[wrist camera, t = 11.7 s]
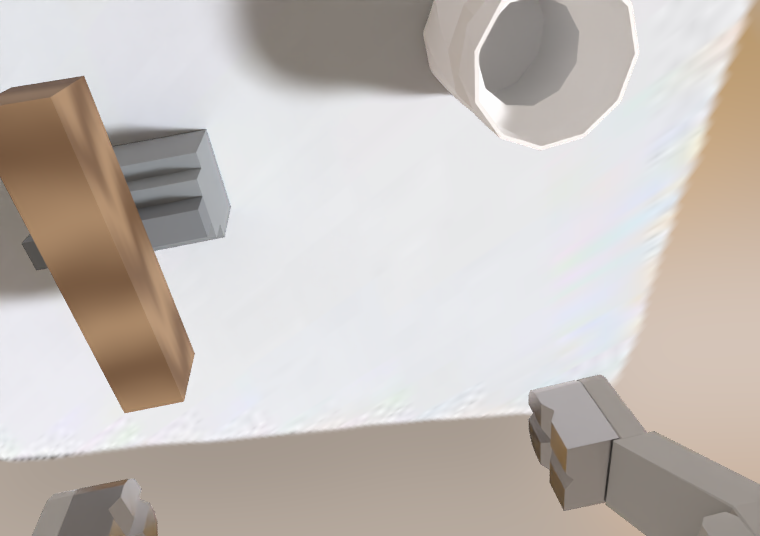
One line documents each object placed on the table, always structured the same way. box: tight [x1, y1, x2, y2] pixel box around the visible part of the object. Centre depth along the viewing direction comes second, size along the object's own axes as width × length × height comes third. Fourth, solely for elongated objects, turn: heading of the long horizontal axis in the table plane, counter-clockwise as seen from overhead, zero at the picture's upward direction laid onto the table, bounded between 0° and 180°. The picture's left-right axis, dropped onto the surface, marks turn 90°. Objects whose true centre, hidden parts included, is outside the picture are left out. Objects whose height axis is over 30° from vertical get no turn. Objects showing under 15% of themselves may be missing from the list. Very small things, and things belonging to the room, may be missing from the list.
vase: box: [423, 0, 639, 151], centre depth 32 cm, size 9×9×12 cm
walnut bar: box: [0, 76, 195, 413], centre depth 30 cm, size 18×4×4 cm, turn 7°
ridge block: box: [22, 130, 231, 270], centre depth 35 cm, size 6×10×9 cm, turn 98°
